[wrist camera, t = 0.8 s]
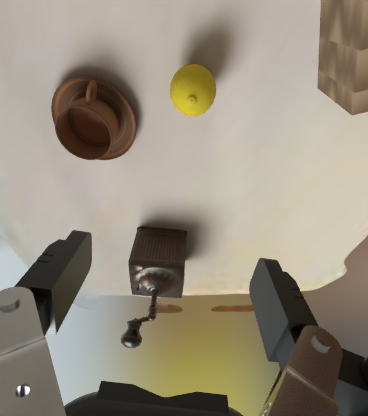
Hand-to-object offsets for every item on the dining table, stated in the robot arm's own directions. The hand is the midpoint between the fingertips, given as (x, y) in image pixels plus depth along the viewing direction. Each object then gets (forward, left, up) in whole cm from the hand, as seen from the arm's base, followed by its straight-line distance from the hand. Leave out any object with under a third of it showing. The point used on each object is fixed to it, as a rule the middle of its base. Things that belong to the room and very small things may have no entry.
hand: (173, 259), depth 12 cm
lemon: (-1, 0, -29) cm, 29 cm away
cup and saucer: (0, -15, -29) cm, 33 cm away
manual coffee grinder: (+31, -16, -29) cm, 45 cm away
